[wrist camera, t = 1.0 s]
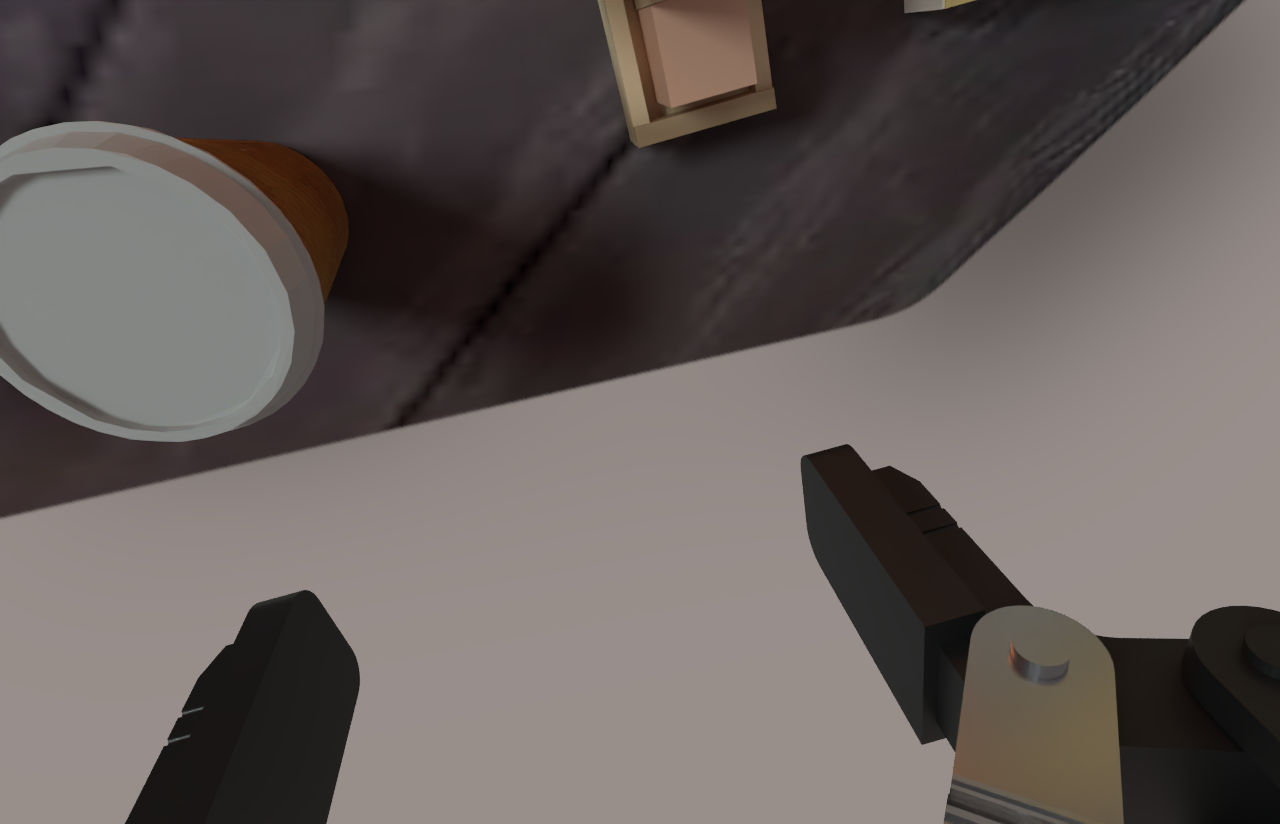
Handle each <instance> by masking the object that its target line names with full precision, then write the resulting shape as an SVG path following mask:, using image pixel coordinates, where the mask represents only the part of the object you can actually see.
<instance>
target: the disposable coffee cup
mask: <svg viewBox="0 0 1280 824" xmlns="http://www.w3.org/2000/svg"><path fill="white" fill-rule="evenodd" d="M348 237H349V228H348V217H347V213H346V210H345V206H344V203H343V200H342V198H341V196H340V194H339V192H338V191H337V189H336V188H335V186H334V185H333V183H332V182H331V180H330V179H329V178H328V177H327V175H326V174H325V173H324V172H323V171H322V170H321V169H320V168H319V167H318V166H316V165H315V164H314V163H312V162H311V161H310V160H308V159H307V158H306V157H304V156H303V155H301V154H299V153H298V152H296V151H294V150H292V149H290V148H287V147H284V146H281V145H278V144H275V143H270V142H262V141H241V140H218V139H192V138H173V137H171V136H168V135H166V134H164V133H161V132H159V131H156V130H153V129H148V128H142V127H137V126H131V125H125V124H118V123H111V122H102V121H90V122H64V123H60V124H55V125H51V126H46V127H42V128H37V129H33V130H30V131H28V132H25V133H23V134H21V135H18V136H16V137H13V138H11V139H9V140H8V141H6V142H5V143H4V144H2V145H1V146H0V375H1V376H2V377H3V378H4V379H6V380H7V381H8V382H9V383H11V384H12V385H13V386H14V387H16V388H17V389H18V390H19V391H21V392H22V393H23V394H24V395H26V396H27V397H29V398H30V399H32V400H33V401H35V402H37V403H38V404H40V405H41V406H43V407H45V408H46V409H48V410H50V411H52V412H54V413H56V414H58V415H60V416H62V417H64V418H66V419H68V420H70V421H72V422H74V423H77V424H79V425H82V426H85V427H88V428H90V429H93V430H96V431H99V432H102V433H106V434H111V435H115V436H119V437H123V438H128V439H132V440H146V441H166V442H183V441H189V440H196V439H202V438H207V437H210V436H214V435H217V434H220V433H223V432H227V431H230V430H234V429H238V428H241V427H245V426H248V425H250V424H252V423H254V422H256V421H258V420H261V419H263V418H265V417H267V416H269V415H271V414H273V413H274V412H275V411H277V410H278V409H279V408H281V407H282V406H283V405H285V404H286V403H287V402H289V401H290V400H291V399H292V397H293V396H294V395H295V394H296V393H297V392H298V391H299V390H300V389H301V387H302V386H303V385H304V384H305V382H306V380H307V379H308V377H309V375H310V373H311V372H312V370H313V368H314V366H315V364H316V361H317V358H318V355H319V352H320V349H321V346H322V343H323V334H324V306H325V303H326V300H327V297H328V295H329V292H330V290H331V287H332V284H333V281H334V279H335V276H336V273H337V270H338V268H339V265H340V262H341V259H342V257H343V255H344V252H345V250H346V248H347V242H348Z"/></svg>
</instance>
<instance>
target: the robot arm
mask: <svg viewBox="0 0 1280 824" xmlns="http://www.w3.org/2000/svg"><path fill="white" fill-rule="evenodd" d="M801 474H802V484H803V494H804V503H805V512H806V522H807V530H808V535H809V539H810V542H811V545H812V549H813V552H814V554H815V557H816V559H817V561H818V563H819V565H820V567H821V569H822V570H823V572H824V574H825V576H826V577H827V579H828V580H829V583H830V584H831V586H832V588H833V589H834V591H835V593H836V595H837V597H838V599H839V600H840V602H841V604H842V606H843V607H844V609H845V611H846V613H847V614H848V616H849V618H850V620H851V621H852V623H853V625H854V627H855V628H856V630H857V632H858V634H859V635H860V637H861V639H862V640H863V642H864V644H865V646H866V647H867V649H868V651H869V653H870V655H871V656H872V658H873V660H874V662H875V663H876V665H877V667H878V669H879V670H880V672H881V674H882V676H883V677H884V679H885V681H886V683H887V684H888V686H889V688H890V690H891V691H892V693H893V695H894V697H895V698H896V700H897V702H898V704H899V705H900V707H901V709H902V711H903V712H904V714H905V716H906V718H907V719H908V721H909V723H910V725H911V726H912V728H913V730H914V732H915V733H916V735H917V737H918V739H919V741H920V742H921V744H922V745H923V744H926V743H930V742H934V741H937V740H940V739H944V738H947V740H948V741H949V743H950V745H951V746H952V748H953V749H954V751H955V760H954V767H953V775H952V783H951V789H950V793H949V795H948V799H947V805H946V811H945V818H944V824H1280V612H1278V611H1275V610H1271V609H1265V608H1260V607H1251V606H1229V607H1222V608H1218V609H1215V610H1212V611H1209V612H1208V613H1206V614H1204V615H1202V616H1201V617H1200V618H1199V619H1198V620H1197V621H1196V623H1195V625H1194V627H1193V629H1192V632H1191V636H1190V638H1189V639H1149V638H1147V639H1145V638H1143V639H1142V638H1111V637H1103V636H1097V635H1094V634H1093V633H1092V632H1091V631H1090V630H1089V629H1087V628H1086V627H1085V626H1083V625H1082V624H1080V623H1079V622H1077V621H1075V620H1074V619H1071V618H1070V617H1068V616H1065V615H1063V614H1061V613H1058V612H1055V611H1053V610H1049V609H1045V608H1041V607H1034V606H1033V605H1032V604H1031V603H1030V602H1029V601H1028V600H1026V598H1025V597H1024V596H1023V595H1022V594H1021V593H1020V592H1019V591H1018V590H1017V588H1016V587H1015V586H1014V585H1013V584H1012V583H1011V582H1010V581H1009V580H1008V578H1007V577H1006V576H1005V575H1004V574H1003V573H1002V572H1001V571H1000V570H999V569H998V567H997V566H996V565H995V564H994V563H993V562H992V561H991V560H990V559H989V558H988V556H987V555H986V554H985V553H984V552H983V551H982V550H981V549H980V548H979V546H978V545H977V544H976V543H975V542H974V541H973V540H972V539H971V538H970V536H969V535H968V534H967V533H966V532H965V531H964V530H963V529H962V528H959V527H958V526H957V522H956V521H955V520H954V519H953V518H952V517H951V515H950V514H949V513H948V512H947V511H946V510H945V509H944V508H943V509H942V508H941V506H940V503H939V502H938V501H937V500H936V499H935V498H934V497H933V496H932V495H931V493H930V492H929V491H928V490H927V489H926V488H925V487H924V486H923V485H922V483H921V482H920V481H918V480H916V479H914V478H912V477H910V476H908V475H906V474H904V473H902V472H901V471H899V470H897V469H895V468H893V467H891V466H887V467H883V468H880V469H877V470H873V471H871V470H870V468H869V467H868V466H867V465H866V463H865V462H864V461H863V460H862V459H861V457H860V456H859V455H858V454H857V452H856V451H855V450H854V449H853V448H852V447H851V446H850V445H848V444H845V445H842V446H838V447H834V448H831V449H827V450H823V451H820V452H816V453H812V454H808V455H805V456H803V457H802V458H801ZM359 686H360V674H359V667H358V662H357V659H356V656H355V654H354V652H353V650H352V649H351V647H350V646H349V644H348V643H347V641H346V640H345V638H344V637H343V635H342V634H341V632H340V631H339V629H338V628H337V626H336V625H335V623H334V622H333V620H332V619H331V617H330V616H329V614H328V613H327V611H326V610H325V608H324V607H323V605H322V604H321V602H320V601H319V599H318V598H317V596H316V595H315V594H314V593H312V592H310V591H307V590H303V591H300V592H296V593H292V594H289V595H285V596H281V597H278V598H274V599H270V600H267V601H263V602H259V603H257V604H255V605H254V606H253V607H252V608H251V609H250V610H249V612H248V614H247V616H246V618H245V621H244V622H243V625H242V627H241V629H240V631H239V633H238V635H237V638H236V640H235V642H234V644H231V645H228V646H225V648H224V649H223V650H222V651H221V652H220V653H219V654H218V656H217V657H216V658H215V659H214V660H213V661H212V663H211V664H210V665H209V666H208V667H207V669H206V670H205V671H204V672H203V673H202V674H201V675H200V677H199V678H198V680H197V681H196V684H195V686H194V688H193V689H192V691H191V694H190V695H189V698H188V700H187V701H186V703H185V706H184V707H183V709H182V714H183V715H182V717H180V718H178V719H177V721H176V723H175V725H174V727H173V729H172V731H171V733H170V735H169V737H168V746H164V747H163V749H162V751H161V753H160V755H159V757H158V759H157V761H156V763H155V765H154V767H153V769H152V771H151V773H150V775H149V777H148V779H147V781H146V783H145V785H144V787H143V789H142V791H141V793H140V795H139V797H138V799H137V801H136V803H135V805H134V807H133V809H132V811H131V813H130V815H129V817H128V819H127V821H126V823H125V824H326V822H327V818H328V815H329V810H330V806H331V802H332V798H333V794H334V790H335V786H336V781H337V778H338V774H339V770H340V766H341V762H342V757H343V754H344V749H345V745H346V741H347V737H348V733H349V729H350V725H351V721H352V717H353V713H354V708H355V705H356V701H357V697H358V692H359Z"/></svg>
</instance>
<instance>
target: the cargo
mask: <svg viewBox="0 0 1280 824" xmlns="http://www.w3.org/2000/svg"><path fill="white" fill-rule="evenodd" d="M637 15H638V20H639V24H640V29H641V34H642V39H643V43H644V48H645V53H646V57H647V62H648V67H649V72H650V76H651V81H652V86H653V91H654V95H655V100H656V102H657V103H660V104H662V105H665V106H667V107H670V108H674V107H677V106H681V105H684V104H688V103H691V102H694V101H698V100H701V99H705V98H708V97H712V96H715V95H719V94H722V93H726V92H729V91H733V90H736V89H740V88H743V87H747V86H750V85H754V84H757V76H756V69H755V62H754V54H753V47H752V40H751V32H750V25H749V18H748V10H747V3H746V0H668V1H664V2H661V3H657V4H654V5H650V6H647V7H645V8H642V9H639V10H637Z"/></svg>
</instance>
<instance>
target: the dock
mask: <svg viewBox="0 0 1280 824" xmlns="http://www.w3.org/2000/svg"><path fill="white" fill-rule="evenodd" d="M971 1H975V0H904V13H912V12H922V11H931V10H941V9H946V8H950V7H953V6H957V5H960V4H964V3H968V2H971Z"/></svg>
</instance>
